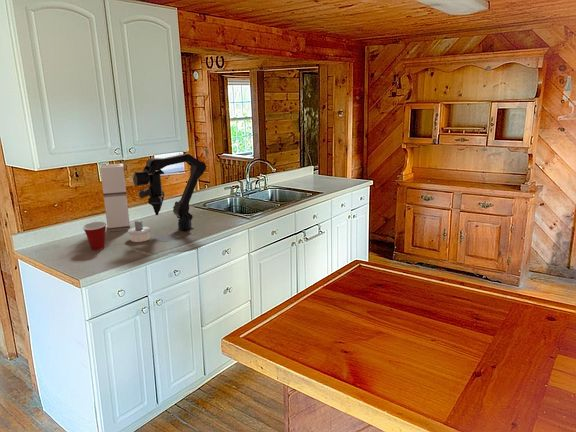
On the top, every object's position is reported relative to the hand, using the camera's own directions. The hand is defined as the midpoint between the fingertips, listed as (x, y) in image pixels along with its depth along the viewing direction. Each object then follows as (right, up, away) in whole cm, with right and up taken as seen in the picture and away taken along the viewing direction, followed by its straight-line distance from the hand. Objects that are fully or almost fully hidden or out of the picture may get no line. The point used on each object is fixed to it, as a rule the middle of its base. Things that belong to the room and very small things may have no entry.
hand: (158, 212), depth 230 cm
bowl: (-8, -14, -4) cm, 16 cm away
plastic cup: (-24, -17, -17) cm, 34 cm away
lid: (-8, -9, -6) cm, 13 cm away
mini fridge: (-27, -9, +17) cm, 33 cm away
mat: (+5, -13, -2) cm, 14 cm away
